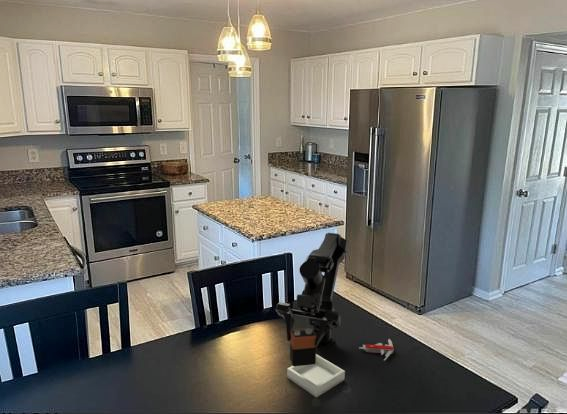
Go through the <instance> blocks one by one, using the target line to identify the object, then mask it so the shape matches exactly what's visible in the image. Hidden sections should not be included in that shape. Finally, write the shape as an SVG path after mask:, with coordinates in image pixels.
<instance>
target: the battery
mask: <svg viewBox="0 0 567 414" xmlns="http://www.w3.org/2000/svg"><path fill="white" fill-rule="evenodd" d="M313 330H314V329H313V328H310V327H309V328H308V327H307V328H305V329H300V330H297V329H295V330H292V331H291V332H290V341H289V359H290V362H291V364H292V365H291V366H304V365H312V364H315V363H316V354H317V347H315V340H316V335H315V333H314V331H313Z"/></svg>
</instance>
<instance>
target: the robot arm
mask: <svg viewBox="0 0 567 414" xmlns="http://www.w3.org/2000/svg"><path fill="white" fill-rule="evenodd" d="M348 252H349V243H348V240H347V239H345V238H344V237H342V236H341V234H339V233H335V232H334V233H333V232H326V233H325V235H324V238H323V241H322V242H321V244H320V246H319V248H318V249H313V250H312V251H311V252H310V253H309V254H308V255H307V257H306V259H305V260H304V262H302V263H301V265H300V267H299V275H300V276H301V278H302V280H303V282H304V288H303V290H302V292H301V294H296V299H295V306H297V308H296V307H293V306H292V304H291V303H288V302H287V303H286V302H281V301H279V302H278V303H277V304H276V307H275V312H276V313H277V315H278V316H280V317H282V319H284V321H285V326H286V337H287V338H286V340H287V342H290V332H291V331H293V329H294V325H295V324H294V323H295V319H294V318H293V317H294V316H298V317H305V318H308V320H309V321H308V323H309V326H310V327H312V326H313V329H312V330H313V331H314V333H315V335H316V340H315V347H316V348H317V347H318V346H319V347H320V348H325V347H327V346H330V345H331V344H333V343H335V342H336V339H334V338H333V331H334V330H335V329H337V328H340V327H341V323H342V317H341V315H340V313H339V312H338V311H335V307H334V304H333V302H332V301H333V296H334V291H335V286H336V281H337V276H338V271H339V268H340V267H339V265H340V264H341V263H342V262H343V261H344V260H345V259H346V258H345V257H346V254H348Z"/></svg>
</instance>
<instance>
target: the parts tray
mask: <svg viewBox="0 0 567 414" xmlns="http://www.w3.org/2000/svg"><path fill="white" fill-rule="evenodd" d="M286 369H287V371H286V372H287V373H286V377H287V378H288V379H289V380H290V381H292V382H293V383H295V384H296V385H297V386H299V387H301V388H302V389H303V390H305V391H306V392H308V393H309V394H311V396H313V397H315V398H318V397H320V396H321V395H322V394H324V393H326V392H327V391H329V390H330V389H332V388H334V387H335V386H337V385H339V384H341V383H342V382H344V381H345V376H346V375H345V374H346V371H345V370H344V369H342V368H340V367H339V366H338V365H335V364H334V363H332V362H330V361H329V360H327V359H325V358H323V357H322V356H320V355H319V354H317V353H316V363H315V364H312V365H304V366H293V365H291V366H290V367H287V368H286Z"/></svg>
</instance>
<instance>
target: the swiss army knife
mask: <svg viewBox="0 0 567 414" xmlns="http://www.w3.org/2000/svg"><path fill="white" fill-rule="evenodd" d="M387 342H388V344H386V343H385V344H384V345H383V343H382V342H378V343H376V344H362V347H361V346H359V347H358V349H361V350H364V351H365V352H366V353H373V354H375V353H376V354H377V353H379V354H380V355H381V356H383V355H384V354H385V355H384V357H385V358H384V359H383V361H384V362H385V361H386V360H387V359H388V358H389V356H391V354H394V350H395V349H394V345H393V342H392V340H391V339H390V338H388V340H387Z"/></svg>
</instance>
